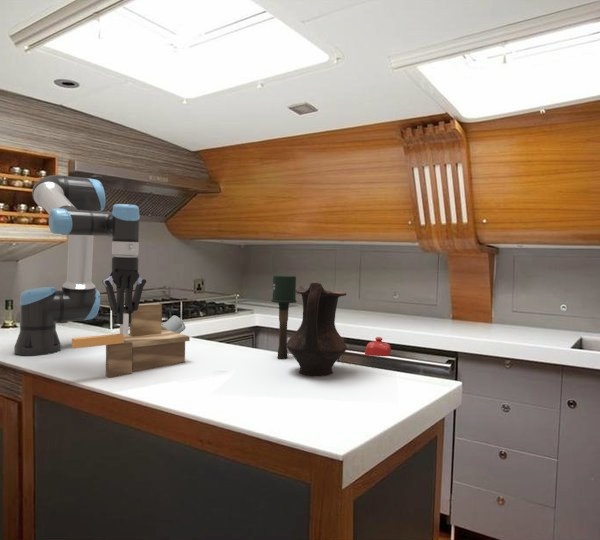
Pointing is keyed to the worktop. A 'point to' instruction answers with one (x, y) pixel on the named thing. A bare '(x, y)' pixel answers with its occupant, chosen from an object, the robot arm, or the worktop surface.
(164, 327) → the ceramic mug
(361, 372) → the worktop surface
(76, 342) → the orange rectangular block
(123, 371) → the open wooden box
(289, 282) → the stick grenade
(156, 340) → the lid
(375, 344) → the butter dish
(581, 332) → the worktop surface
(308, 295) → the jug
